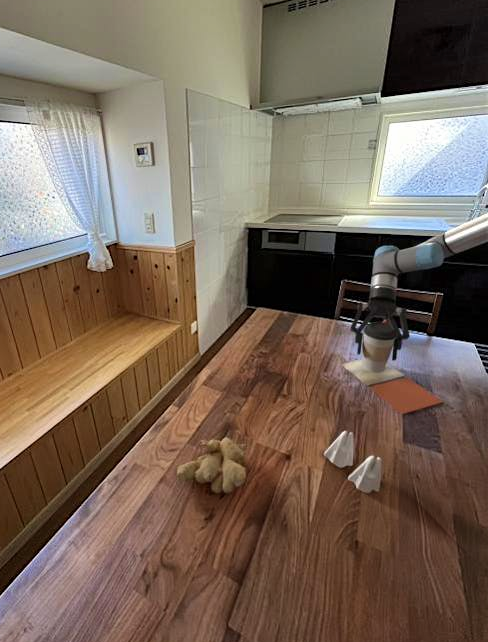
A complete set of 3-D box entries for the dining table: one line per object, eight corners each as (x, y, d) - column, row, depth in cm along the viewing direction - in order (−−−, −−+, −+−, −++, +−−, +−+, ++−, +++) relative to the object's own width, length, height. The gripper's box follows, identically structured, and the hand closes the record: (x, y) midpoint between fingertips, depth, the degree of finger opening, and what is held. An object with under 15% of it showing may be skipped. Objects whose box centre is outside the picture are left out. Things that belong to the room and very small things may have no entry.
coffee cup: (360, 373, 107) (368, 332, 101) (355, 357, 115) (361, 318, 109) (392, 375, 105) (402, 334, 98) (384, 359, 113) (392, 319, 106)
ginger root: (265, 455, 81) (262, 436, 76) (237, 520, 71) (232, 503, 66) (209, 432, 89) (203, 413, 85) (177, 487, 79) (169, 470, 75)
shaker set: (321, 459, 80) (327, 424, 76) (333, 452, 82) (339, 417, 78) (368, 499, 71) (377, 462, 66) (380, 489, 73) (390, 452, 68)
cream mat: (404, 376, 107) (404, 375, 106) (367, 386, 104) (367, 385, 103) (375, 356, 117) (376, 355, 117) (341, 365, 114) (341, 364, 114)
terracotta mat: (443, 402, 95) (443, 401, 95) (402, 414, 92) (403, 413, 92) (407, 378, 106) (407, 377, 106) (370, 388, 103) (370, 387, 102)
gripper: (419, 299, 110) (414, 365, 103) (346, 291, 119) (337, 352, 112) (425, 289, 103) (420, 360, 97) (347, 282, 112) (338, 347, 106)
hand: (376, 356), depth 105 cm, fingers closed on coffee cup, 9 cm apart
